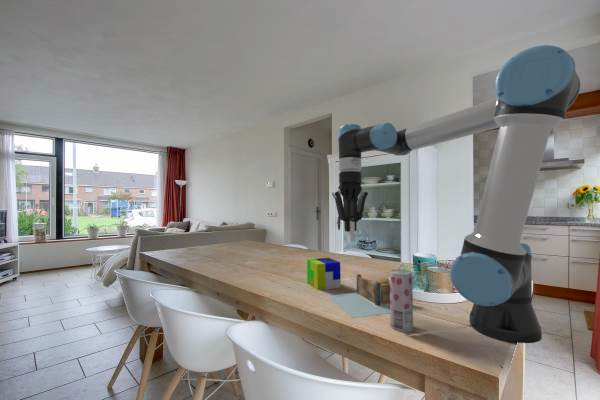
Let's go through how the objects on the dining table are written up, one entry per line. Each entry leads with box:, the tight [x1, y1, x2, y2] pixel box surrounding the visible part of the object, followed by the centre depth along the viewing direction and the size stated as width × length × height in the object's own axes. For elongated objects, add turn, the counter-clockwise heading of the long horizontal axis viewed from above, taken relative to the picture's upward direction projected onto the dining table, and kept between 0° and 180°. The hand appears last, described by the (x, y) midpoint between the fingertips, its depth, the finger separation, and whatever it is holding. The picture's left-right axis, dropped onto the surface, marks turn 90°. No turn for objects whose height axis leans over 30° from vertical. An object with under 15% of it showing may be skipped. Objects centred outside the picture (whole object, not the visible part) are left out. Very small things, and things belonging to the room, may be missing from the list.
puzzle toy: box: [306, 257, 342, 291], centre depth 113 cm, size 10×10×10 cm
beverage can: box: [389, 268, 414, 333], centre depth 74 cm, size 6×6×15 cm
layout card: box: [327, 292, 418, 319], centre depth 92 cm, size 20×22×1 cm
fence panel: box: [356, 273, 381, 306], centre depth 95 cm, size 13×2×7 cm, turn 19°
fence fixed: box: [380, 282, 390, 304], centre depth 91 cm, size 8×2×7 cm, turn 105°
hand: (350, 241), depth 94 cm, fingers closed
